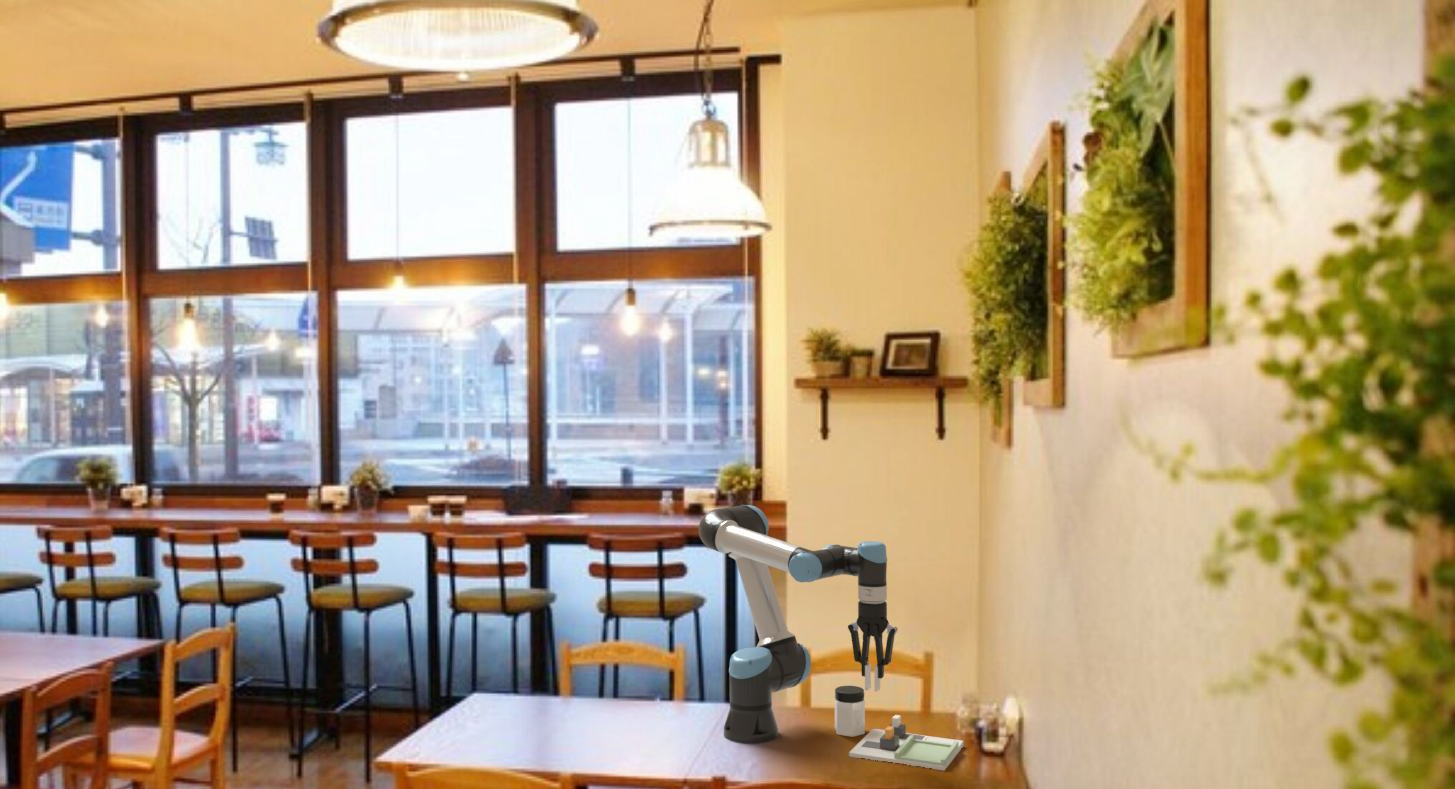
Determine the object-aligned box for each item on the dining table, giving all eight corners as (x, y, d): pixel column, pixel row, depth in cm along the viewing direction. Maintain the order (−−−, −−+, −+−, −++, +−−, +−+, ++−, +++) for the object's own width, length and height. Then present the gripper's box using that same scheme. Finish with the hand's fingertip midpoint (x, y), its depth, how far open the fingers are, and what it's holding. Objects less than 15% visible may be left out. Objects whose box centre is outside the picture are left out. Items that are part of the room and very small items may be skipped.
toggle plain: (887, 735, 292) (887, 717, 292) (891, 731, 295) (891, 713, 295) (901, 737, 290) (901, 719, 290) (905, 733, 294) (905, 715, 294)
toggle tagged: (880, 747, 282) (879, 729, 282) (884, 743, 286) (884, 724, 286) (894, 749, 281) (894, 731, 280) (899, 745, 284) (899, 726, 284)
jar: (846, 738, 295) (846, 695, 294) (828, 730, 301) (828, 688, 301) (871, 732, 300) (871, 690, 299) (852, 725, 306) (852, 683, 306)
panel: (849, 758, 280) (848, 746, 280) (873, 733, 299) (873, 722, 299) (944, 772, 269) (944, 760, 269) (963, 746, 288) (963, 735, 288)
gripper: (840, 601, 284) (841, 689, 285) (896, 605, 278) (896, 696, 278) (849, 595, 291) (850, 682, 292) (903, 600, 285) (904, 688, 285)
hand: (872, 689), depth 285 cm, fingers open, 2 cm apart
